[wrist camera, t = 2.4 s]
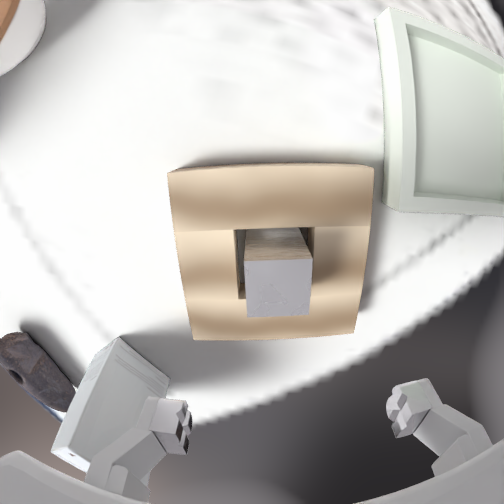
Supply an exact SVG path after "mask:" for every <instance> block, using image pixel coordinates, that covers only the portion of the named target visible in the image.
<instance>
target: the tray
mask: <svg viewBox="0 0 504 504" xmlns="http://www.w3.org/2000/svg"><path fill="white" fill-rule="evenodd" d="M374 22H375V28H376V34H377V41H378V48H379V56H380V65H381V75H382V88H383V106H384V173H383V192H382V203H384V204H386V205H387V206H389V207H391V208H392V209H394V210H396V211H397V212H411V213H441V214H463V215H481V216H496V217H504V58H503V57H501V56H499V55H498V54H496V53H495V52H493V51H491V50H490V49H488V48H486V47H484V46H483V45H481V44H479V43H477V42H475V41H473V40H472V39H470V38H468V37H466V36H464V35H462V34H460V33H458V32H455V31H453V30H451V29H449V28H447V27H444V26H442V25H440V24H437V23H435V22H432V21H430V20H427V19H425V18H422V17H419V16H416V15H414V14H411V13H408V12H405V11H401V10H398V9H395V8H391V7H388V8H387V9H386V10H384V11H383V12H382V13H381V14H380V15H378V16H377V17H376V18H375V19H374Z"/></svg>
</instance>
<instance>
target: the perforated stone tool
mask: <svg viewBox="0 0 504 504" xmlns="http://www.w3.org/2000/svg"><path fill="white" fill-rule="evenodd" d="M0 363H1V364H2V365H3V366H4V368H5V369H6V370H7V372H8V373H9V374H10V375H11V376H12V377H13V378H14V379H15V380H16V382H18V383H19V384H20V385H21V386H22V387H23V388H24V389H25V390H26V391H28V392H29V393H30V394H31V395H33V396H34V397H35V398H36V399H38V400H39V401H41V402H42V403H44V404H45V405H47V406H49V407H51V408H53V409H55V410H58V411H61V412H67V411H68V408H69V406H70V404H71V402H72V400H73V398H74V396H75V394H76V391H75V389H74V387H73V385H72V384H71V382H70V381H69V379H68V378H67V377H66V376H65V375H64V374H63V373H62V372H61V371H60V370H59V369H58V366H57V365H56V364H55V362H54V361H53V360H52V359H51V358H50V357H49V356H48V354H47V353H46V352H45V351H44V350H43V349H42V348H40V346H38V345H37V344H35V343H34V342H33V341H32V338H31V337H30V336H29V335H28V334H27V333H21V332H14V333H10V334H7V335H5V336H4V337H2V339H1V338H0Z"/></svg>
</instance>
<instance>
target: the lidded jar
mask: <svg viewBox="0 0 504 504" xmlns="http://www.w3.org/2000/svg"><path fill="white" fill-rule="evenodd" d="M45 14H46V8H45V4H44V0H0V76H1V75H3V74H5V73H7V72H8V71H10V70H12V69H13V68H14V67H15V66H17V65H18V64H19V63H20V62H22V61H23V60H25V59H26V58H27V57H28V56H29V55H30V54H31V53H32V52H33V50H34V49H35V48H36V46H37V45H38V43H39V41H40V39H41V37H42V35H43V33H44V30H45V26H46V18H45Z"/></svg>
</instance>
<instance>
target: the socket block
mask: <svg viewBox="0 0 504 504" xmlns="http://www.w3.org/2000/svg"><path fill="white" fill-rule="evenodd" d="M167 177H168V187H169V196H170V205H171V213H172V221H173V228H174V235H175V242H176V249H177V255H178V261H179V267H180V273H181V279H182V285H183V290H184V296H185V301H186V306H187V311H188V316H189V321H190V326H191V330H192V335H193V340H271V339H291V338H307V337H320V336H331V335H342V334H351V333H354V329H355V324H356V319H357V314H358V309H359V304H360V298H361V293H362V287H363V280H364V274H365V267H366V260H367V252H368V244H369V235H370V225H371V214H372V201H373V185H374V168H372V167H369V166H365V165H362V164H343V163H255V164H234V165H218V166H204V167H193V168H182V169H176V170H173V171H171V172H169V173H167ZM293 227H308V249H309V252H310V254H311V256H312V258H313V264H312V281H311V295H310V308H309V315H296V316H276V317H247V305H246V289H245V283H240V277H239V262H238V247H237V232H236V229H261V228H293Z"/></svg>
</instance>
